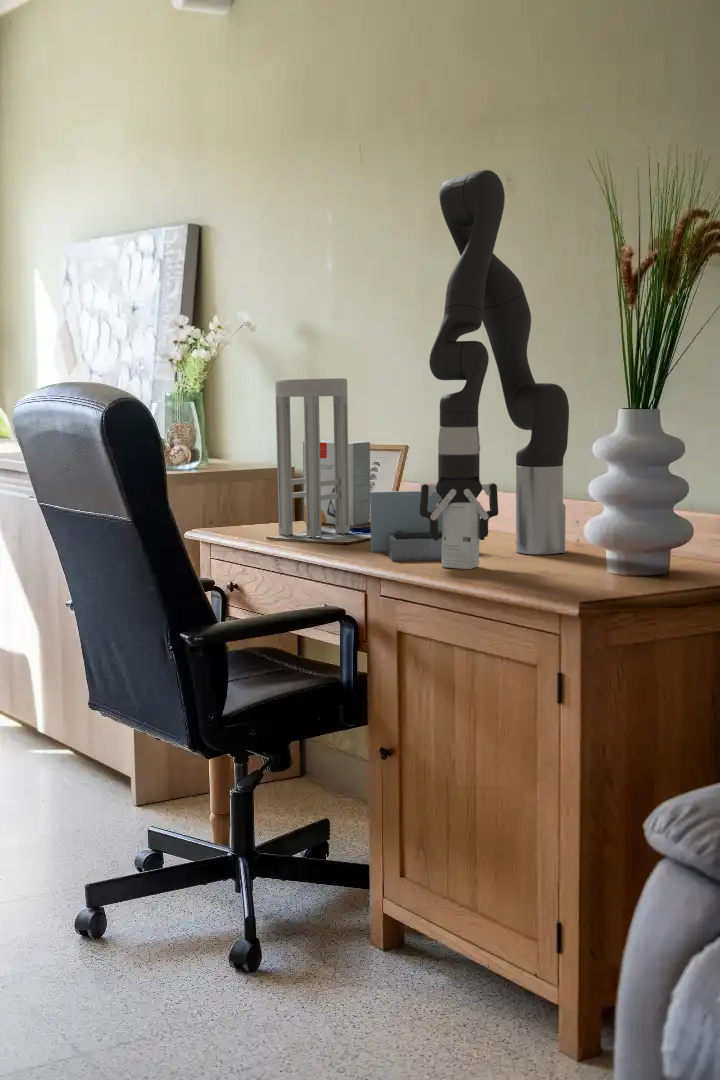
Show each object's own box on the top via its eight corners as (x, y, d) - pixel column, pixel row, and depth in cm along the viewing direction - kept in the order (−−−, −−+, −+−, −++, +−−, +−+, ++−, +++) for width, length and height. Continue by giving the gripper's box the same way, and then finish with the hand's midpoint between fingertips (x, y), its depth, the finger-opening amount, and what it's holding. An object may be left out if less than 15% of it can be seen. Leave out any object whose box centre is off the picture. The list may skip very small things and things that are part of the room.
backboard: (459, 548, 265) (458, 490, 264) (460, 549, 264) (459, 490, 262) (371, 550, 264) (370, 491, 263) (371, 551, 263) (370, 492, 261)
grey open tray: (445, 550, 264) (445, 529, 263) (454, 559, 249) (454, 537, 249) (386, 551, 263) (386, 530, 262) (391, 561, 249) (391, 539, 248)
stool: (362, 533, 295) (360, 377, 291) (313, 539, 284) (310, 378, 280) (314, 528, 306) (311, 378, 301) (265, 534, 294) (262, 379, 290)
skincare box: (440, 567, 239) (439, 502, 238) (450, 564, 243) (450, 500, 242) (471, 569, 236) (470, 503, 235) (481, 566, 240) (480, 501, 239)
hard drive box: (302, 522, 319) (301, 441, 316) (322, 519, 325) (320, 439, 322) (353, 526, 309) (351, 442, 307) (372, 523, 315) (371, 440, 313)
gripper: (494, 450, 241) (494, 537, 243) (418, 451, 241) (418, 538, 242) (500, 452, 234) (500, 542, 236) (421, 453, 233) (421, 543, 235)
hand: (458, 540), depth 239 cm, fingers open, 8 cm apart
